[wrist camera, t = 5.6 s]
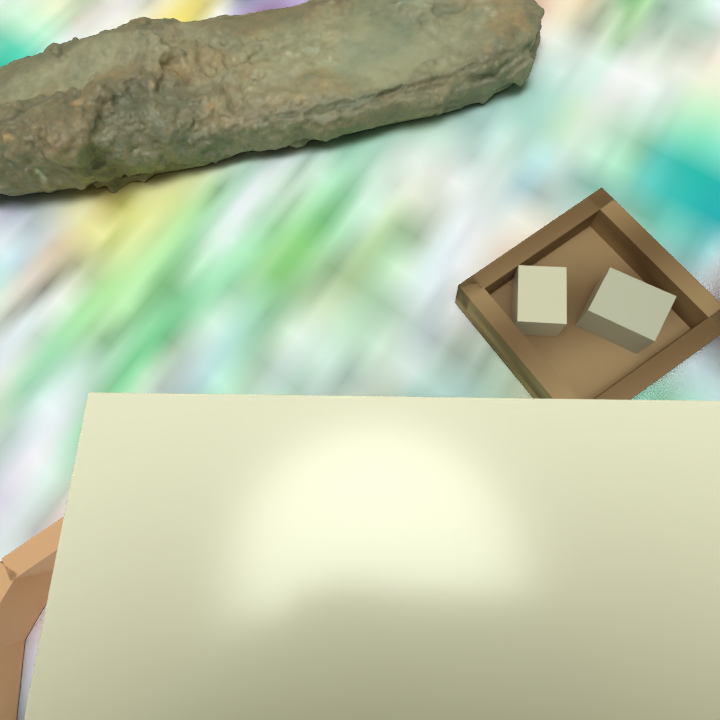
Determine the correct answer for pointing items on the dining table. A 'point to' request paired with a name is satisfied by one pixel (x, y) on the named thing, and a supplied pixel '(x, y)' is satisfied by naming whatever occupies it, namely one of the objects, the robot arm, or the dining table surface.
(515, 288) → the cream block
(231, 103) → the long grey stone
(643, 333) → the beige angular slab
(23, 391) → the dining table surface
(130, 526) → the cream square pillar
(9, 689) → the tan polygonal ring
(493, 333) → the parts tray
